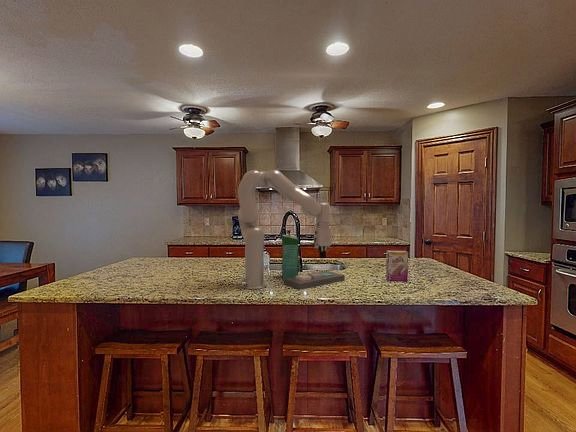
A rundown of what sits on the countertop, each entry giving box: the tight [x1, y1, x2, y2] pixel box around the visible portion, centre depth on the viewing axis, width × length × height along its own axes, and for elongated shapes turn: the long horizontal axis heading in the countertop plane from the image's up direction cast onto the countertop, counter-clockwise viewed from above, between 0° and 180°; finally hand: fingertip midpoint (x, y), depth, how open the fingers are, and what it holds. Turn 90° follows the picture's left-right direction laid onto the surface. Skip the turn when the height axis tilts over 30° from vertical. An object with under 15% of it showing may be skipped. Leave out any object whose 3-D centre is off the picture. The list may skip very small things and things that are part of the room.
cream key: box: [296, 274, 311, 281], centre depth 170 cm, size 6×6×2 cm
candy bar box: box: [385, 250, 409, 282], centre depth 179 cm, size 11×5×16 cm, turn 84°
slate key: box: [306, 272, 323, 279], centre depth 175 cm, size 6×6×2 cm
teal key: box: [321, 273, 333, 277], centre depth 179 cm, size 6×6×2 cm
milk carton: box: [281, 234, 299, 280], centre depth 186 cm, size 9×9×25 cm
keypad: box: [283, 270, 346, 291], centre depth 175 cm, size 32×14×3 cm, turn 126°
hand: (322, 258), depth 178 cm, fingers closed
